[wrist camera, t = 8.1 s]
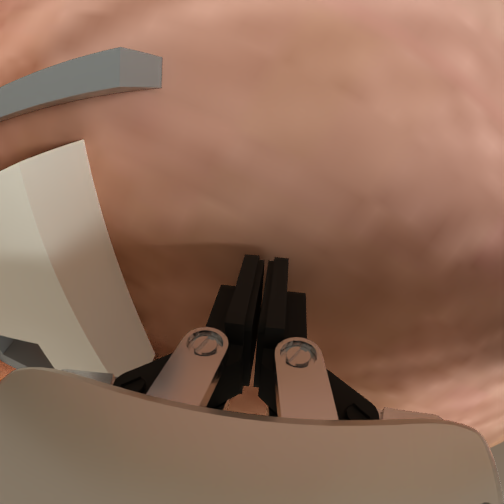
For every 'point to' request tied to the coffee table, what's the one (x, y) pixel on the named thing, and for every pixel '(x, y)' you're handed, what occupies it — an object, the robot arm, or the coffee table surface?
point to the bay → (62, 91)
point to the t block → (64, 268)
